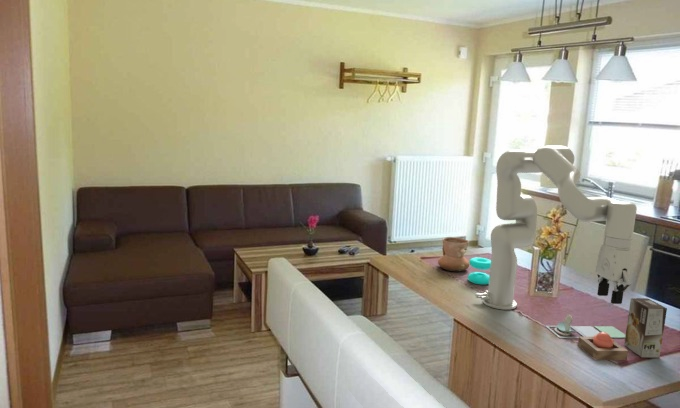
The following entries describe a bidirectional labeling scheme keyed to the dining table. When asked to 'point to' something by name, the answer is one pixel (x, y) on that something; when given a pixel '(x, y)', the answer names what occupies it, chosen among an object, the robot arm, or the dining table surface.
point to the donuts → (479, 276)
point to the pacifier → (565, 326)
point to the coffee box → (645, 327)
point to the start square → (564, 337)
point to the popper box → (602, 350)
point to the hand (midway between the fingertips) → (609, 298)
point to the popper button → (603, 340)
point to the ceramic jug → (454, 254)
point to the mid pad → (587, 330)
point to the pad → (611, 331)
